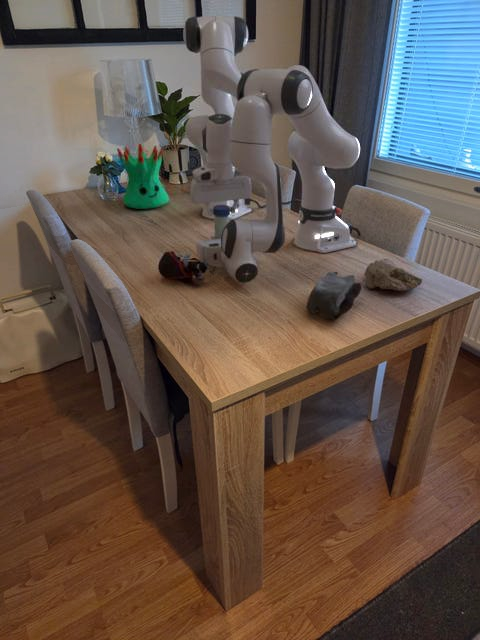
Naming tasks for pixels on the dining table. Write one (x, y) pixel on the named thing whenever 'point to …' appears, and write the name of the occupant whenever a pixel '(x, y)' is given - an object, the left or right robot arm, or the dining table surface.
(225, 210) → the lid
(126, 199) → the toy
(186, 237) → the dining table surface
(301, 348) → the dining table surface
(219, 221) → the pale green cylinder
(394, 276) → the artifact
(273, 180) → the right robot arm
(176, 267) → the toy
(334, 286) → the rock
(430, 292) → the dining table surface
